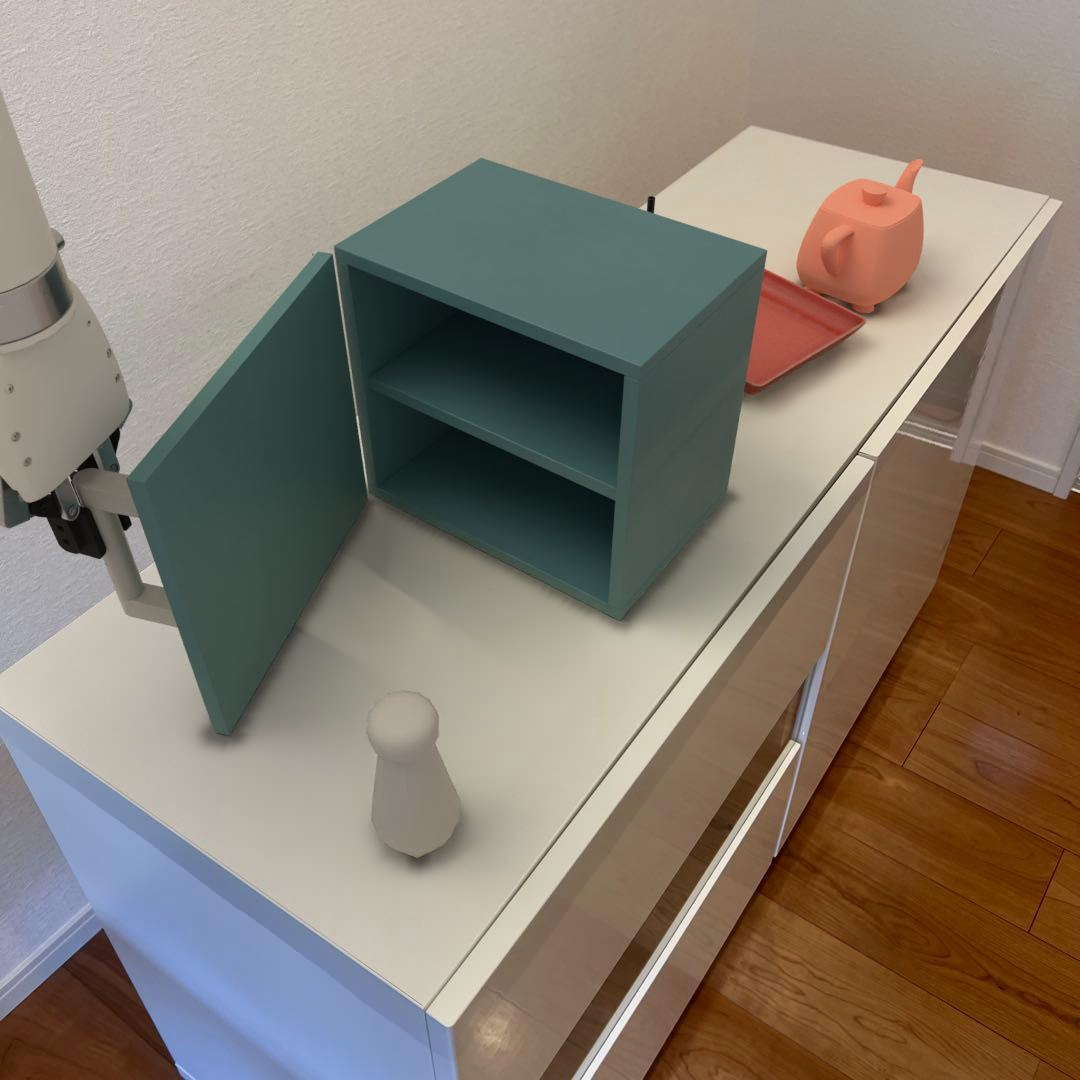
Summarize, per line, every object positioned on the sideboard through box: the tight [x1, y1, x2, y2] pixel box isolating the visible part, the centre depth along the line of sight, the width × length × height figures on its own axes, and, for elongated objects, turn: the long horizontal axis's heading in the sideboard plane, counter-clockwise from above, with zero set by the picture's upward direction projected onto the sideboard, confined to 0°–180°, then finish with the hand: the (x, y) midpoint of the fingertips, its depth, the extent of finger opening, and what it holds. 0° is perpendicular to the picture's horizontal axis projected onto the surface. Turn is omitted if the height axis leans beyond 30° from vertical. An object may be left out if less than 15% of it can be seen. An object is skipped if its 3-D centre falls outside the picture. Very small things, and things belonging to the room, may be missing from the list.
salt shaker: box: [366, 689, 461, 859], centre depth 67 cm, size 6×6×13 cm
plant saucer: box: [744, 268, 867, 396], centre depth 112 cm, size 18×18×3 cm
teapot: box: [795, 158, 925, 314], centre depth 118 cm, size 20×12×12 cm, turn 140°
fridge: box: [333, 157, 768, 621], centre depth 88 cm, size 18×26×24 cm
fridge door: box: [73, 251, 369, 736], centre depth 79 cm, size 8×26×24 cm, turn 164°
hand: (97, 536), depth 70 cm, fingers closed, pressing on fridge door
